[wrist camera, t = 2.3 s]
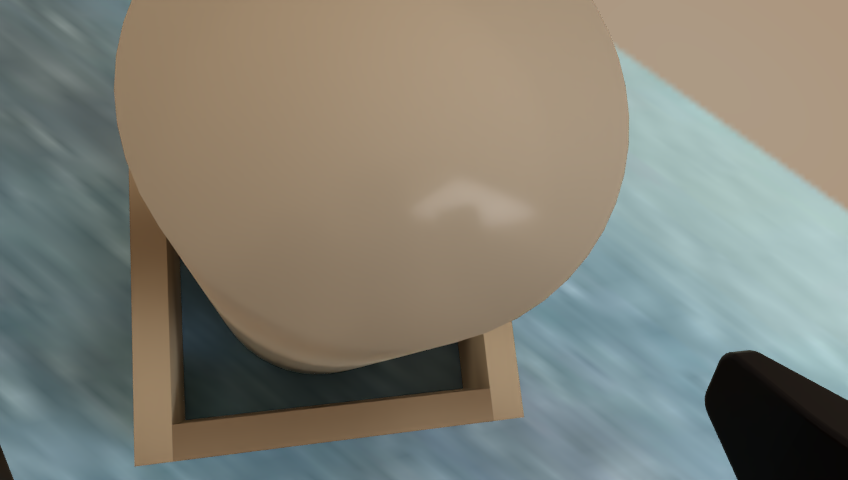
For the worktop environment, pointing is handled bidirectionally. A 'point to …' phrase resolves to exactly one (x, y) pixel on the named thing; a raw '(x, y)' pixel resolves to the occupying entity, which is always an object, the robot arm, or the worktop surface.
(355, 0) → the jug
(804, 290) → the worktop surface
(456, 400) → the holder
